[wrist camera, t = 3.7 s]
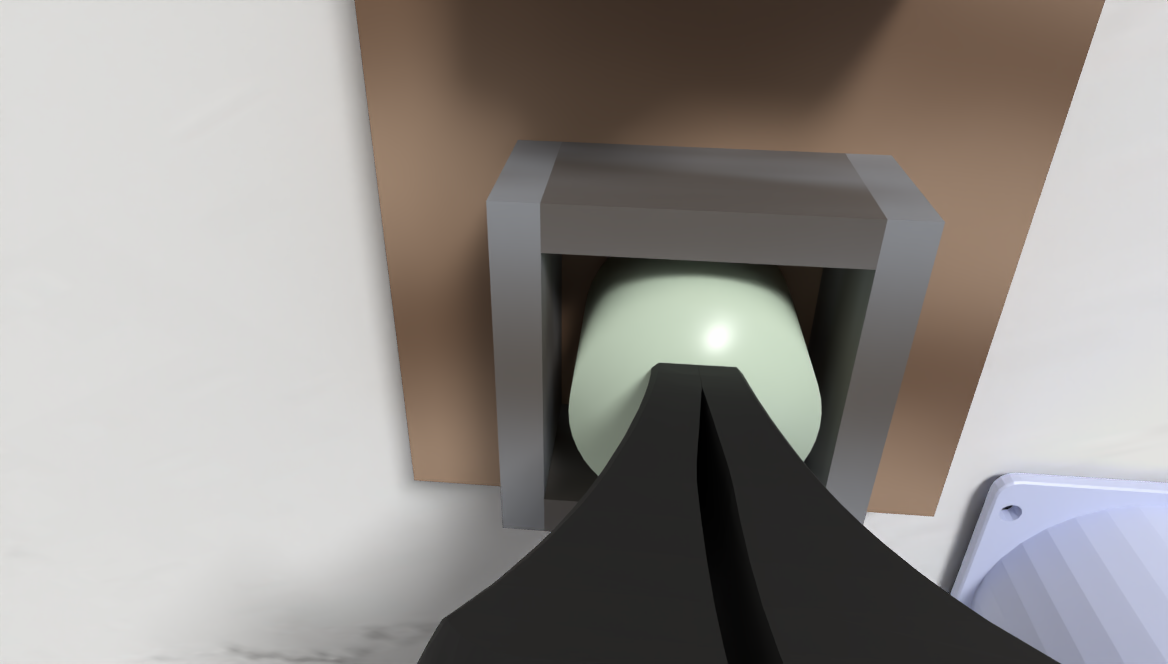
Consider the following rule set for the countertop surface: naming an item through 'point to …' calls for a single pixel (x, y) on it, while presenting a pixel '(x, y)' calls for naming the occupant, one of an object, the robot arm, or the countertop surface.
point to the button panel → (708, 206)
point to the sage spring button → (688, 344)
